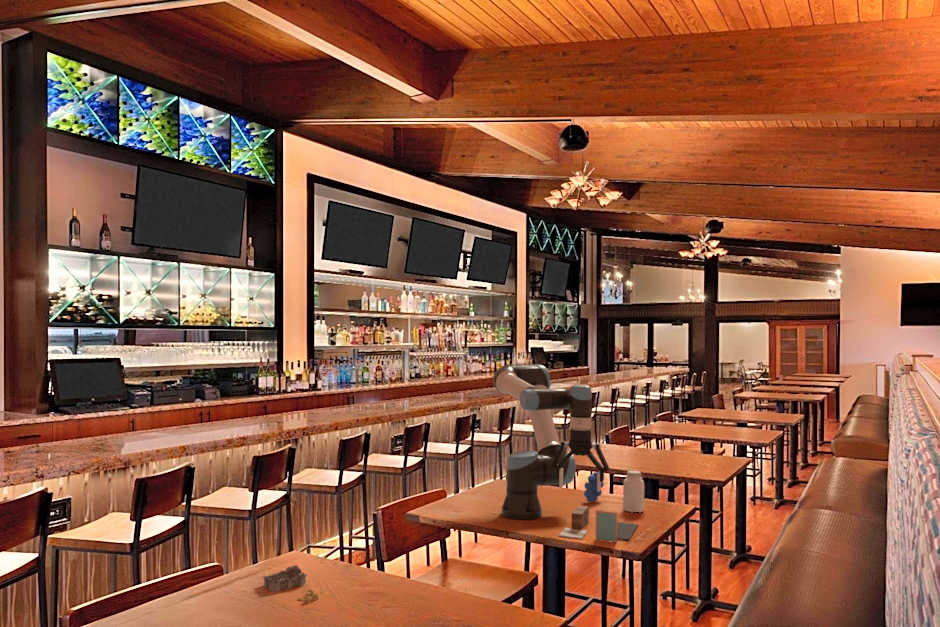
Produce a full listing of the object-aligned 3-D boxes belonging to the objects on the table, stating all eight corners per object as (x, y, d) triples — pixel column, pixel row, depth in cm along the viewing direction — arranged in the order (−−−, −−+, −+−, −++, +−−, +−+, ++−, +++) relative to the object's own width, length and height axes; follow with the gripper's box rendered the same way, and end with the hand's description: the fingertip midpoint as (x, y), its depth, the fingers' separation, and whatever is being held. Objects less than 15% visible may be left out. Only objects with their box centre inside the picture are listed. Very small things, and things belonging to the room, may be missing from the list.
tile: (595, 540, 249) (595, 510, 249) (596, 539, 251) (596, 509, 251) (616, 543, 247) (616, 512, 247) (617, 541, 248) (617, 511, 249)
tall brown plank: (573, 521, 273) (573, 504, 273) (594, 523, 271) (595, 507, 271) (558, 536, 253) (558, 519, 253) (581, 539, 250) (581, 521, 251)
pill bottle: (642, 508, 294) (643, 470, 294) (645, 513, 286) (645, 474, 286) (622, 507, 295) (622, 469, 295) (624, 512, 287) (624, 473, 287)
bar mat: (599, 537, 253) (599, 535, 253) (610, 523, 272) (610, 521, 272) (629, 541, 249) (629, 539, 249) (638, 526, 268) (638, 524, 268)
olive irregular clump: (311, 596, 197) (311, 589, 197) (322, 601, 194) (322, 594, 194) (294, 601, 194) (294, 593, 194) (306, 606, 190) (306, 599, 190)
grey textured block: (298, 578, 210) (298, 563, 210) (308, 586, 204) (309, 571, 204) (261, 585, 204) (261, 570, 204) (270, 593, 198) (270, 578, 198)
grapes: (593, 497, 311) (594, 468, 311) (607, 500, 306) (607, 471, 306) (576, 502, 303) (576, 472, 303) (589, 505, 298) (590, 475, 298)
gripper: (543, 428, 266) (543, 487, 266) (613, 432, 257) (613, 494, 257) (549, 425, 273) (548, 483, 273) (617, 429, 264) (617, 490, 264)
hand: (579, 489), depth 265 cm, fingers open, 13 cm apart
